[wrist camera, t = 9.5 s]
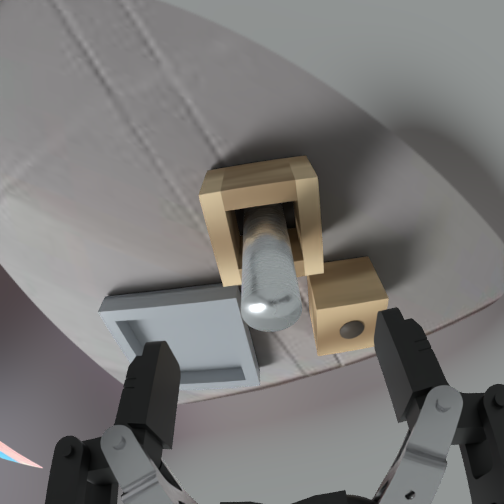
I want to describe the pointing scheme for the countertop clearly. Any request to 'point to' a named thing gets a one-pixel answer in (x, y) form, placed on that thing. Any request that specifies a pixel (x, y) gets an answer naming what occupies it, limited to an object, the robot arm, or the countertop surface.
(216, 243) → the oak block
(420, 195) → the countertop surface
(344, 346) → the block
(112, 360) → the countertop surface
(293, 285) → the cylinder
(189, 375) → the tray
